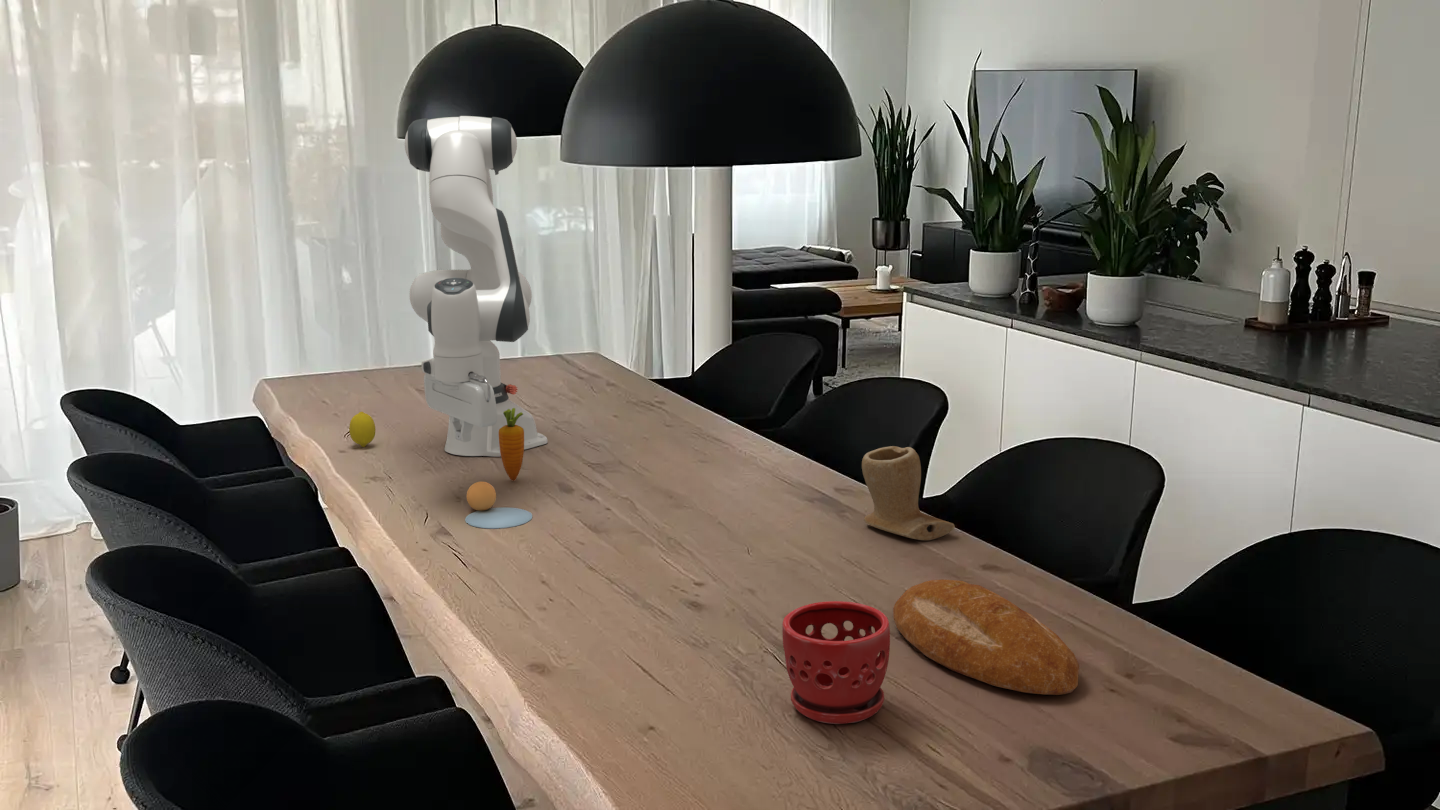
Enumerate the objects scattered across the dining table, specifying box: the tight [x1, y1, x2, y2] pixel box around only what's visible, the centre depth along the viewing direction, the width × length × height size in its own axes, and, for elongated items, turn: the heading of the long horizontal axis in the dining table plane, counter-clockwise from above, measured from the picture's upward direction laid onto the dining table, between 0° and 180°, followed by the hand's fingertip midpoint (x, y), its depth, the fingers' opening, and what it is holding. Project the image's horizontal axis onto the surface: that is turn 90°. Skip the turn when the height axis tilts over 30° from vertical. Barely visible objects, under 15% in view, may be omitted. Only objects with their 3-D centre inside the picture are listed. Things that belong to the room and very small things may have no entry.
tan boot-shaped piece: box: [861, 445, 956, 541], centre depth 233 cm, size 15×12×15 cm
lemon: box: [348, 411, 376, 448], centre depth 293 cm, size 6×6×8 cm
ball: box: [466, 481, 497, 511], centre depth 248 cm, size 5×5×5 cm
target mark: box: [464, 506, 533, 530], centre depth 244 cm, size 12×12×1 cm
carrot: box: [499, 408, 525, 482], centre depth 265 cm, size 5×5×15 cm
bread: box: [892, 579, 1080, 696], centre depth 183 cm, size 18×35×9 cm, turn 25°
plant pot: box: [781, 600, 891, 725], centre depth 166 cm, size 13×13×12 cm
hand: (463, 440), depth 250 cm, fingers closed
